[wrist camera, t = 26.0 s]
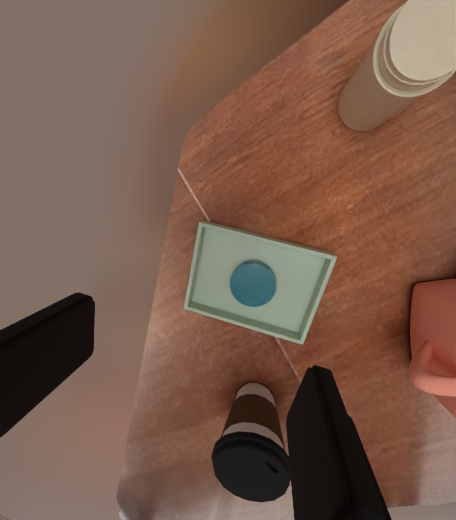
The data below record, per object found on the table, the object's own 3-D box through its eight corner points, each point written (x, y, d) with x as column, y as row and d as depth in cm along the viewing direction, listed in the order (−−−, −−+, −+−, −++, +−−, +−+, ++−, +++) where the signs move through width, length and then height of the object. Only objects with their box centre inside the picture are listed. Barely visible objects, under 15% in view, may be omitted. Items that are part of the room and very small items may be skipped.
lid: (281, 266, 31) (282, 270, 30) (270, 306, 33) (270, 312, 32) (236, 255, 32) (234, 258, 30) (228, 295, 34) (225, 300, 32)
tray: (188, 301, 36) (183, 308, 34) (203, 220, 32) (198, 221, 30) (300, 335, 34) (302, 345, 32) (332, 252, 30) (337, 256, 28)
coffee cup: (258, 361, 37) (254, 432, 26) (298, 404, 38) (312, 491, 26) (214, 388, 40) (193, 461, 29) (252, 427, 41) (245, 513, 30)
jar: (332, 130, 26) (372, 86, 16) (344, 66, 24) (398, -28, 14) (390, 132, 25) (472, 86, 15) (408, 65, 23) (513, -37, 13)
